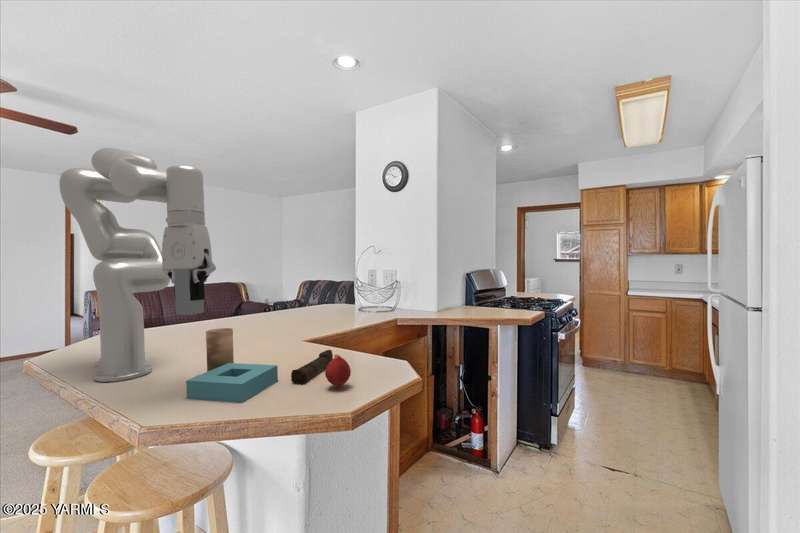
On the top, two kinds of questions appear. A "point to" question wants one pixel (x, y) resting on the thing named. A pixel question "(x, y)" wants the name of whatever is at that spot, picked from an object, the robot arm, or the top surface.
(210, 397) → the socket block
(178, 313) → the square peg
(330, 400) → the top surface
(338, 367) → the onion
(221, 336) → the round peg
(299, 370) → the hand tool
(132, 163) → the robot arm
